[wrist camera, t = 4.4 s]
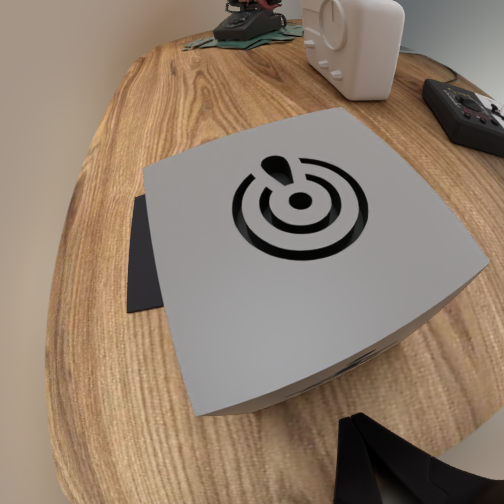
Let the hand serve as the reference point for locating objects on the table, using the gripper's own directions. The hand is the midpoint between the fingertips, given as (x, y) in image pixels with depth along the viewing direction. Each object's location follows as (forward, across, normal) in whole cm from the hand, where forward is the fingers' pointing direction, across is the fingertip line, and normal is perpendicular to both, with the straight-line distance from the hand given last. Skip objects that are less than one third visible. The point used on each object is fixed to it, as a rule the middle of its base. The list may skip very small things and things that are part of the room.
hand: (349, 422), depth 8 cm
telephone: (+64, -13, -54) cm, 84 cm away
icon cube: (+10, 0, 0) cm, 10 cm away
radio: (+33, -18, -23) cm, 44 cm away
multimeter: (+22, -36, -12) cm, 43 cm away
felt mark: (+16, +10, -6) cm, 20 cm away
